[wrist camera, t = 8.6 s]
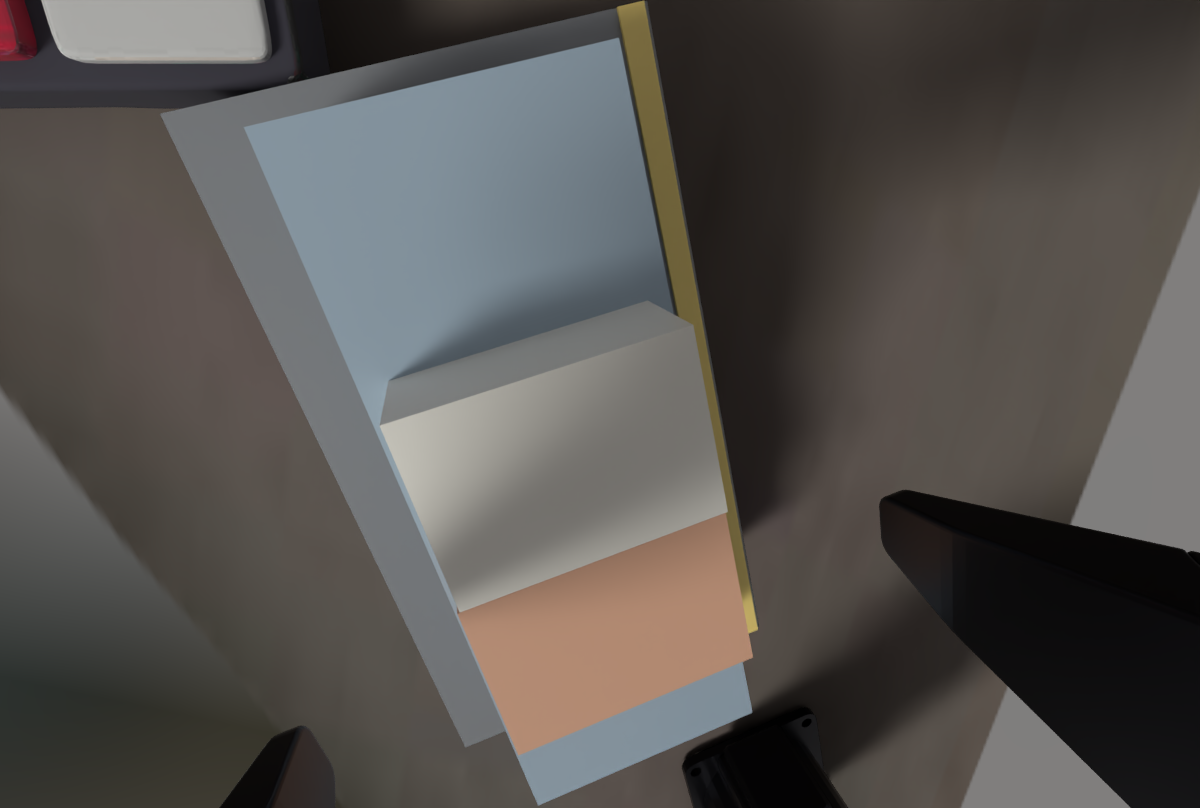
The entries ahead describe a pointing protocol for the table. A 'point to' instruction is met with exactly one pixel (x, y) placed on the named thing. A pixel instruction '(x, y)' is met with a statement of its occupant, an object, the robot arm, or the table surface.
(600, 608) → the salmon brown block
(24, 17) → the grey red white box
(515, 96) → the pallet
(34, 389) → the table surface
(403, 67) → the dock
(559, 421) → the off-white block
